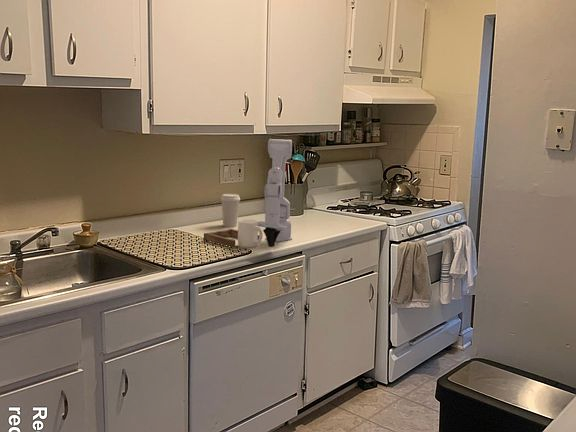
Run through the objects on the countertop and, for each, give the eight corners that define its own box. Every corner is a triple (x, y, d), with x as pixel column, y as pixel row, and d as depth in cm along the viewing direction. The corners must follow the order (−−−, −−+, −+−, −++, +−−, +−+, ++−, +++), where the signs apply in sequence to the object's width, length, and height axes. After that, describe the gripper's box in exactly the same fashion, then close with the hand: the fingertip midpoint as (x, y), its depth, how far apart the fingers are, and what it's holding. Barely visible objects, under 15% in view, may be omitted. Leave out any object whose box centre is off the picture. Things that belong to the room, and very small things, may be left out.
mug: (268, 247, 242) (269, 222, 240) (254, 250, 235) (255, 225, 233) (247, 242, 249) (247, 218, 247) (233, 245, 243) (234, 220, 241)
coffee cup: (216, 224, 284) (216, 194, 282) (233, 223, 290) (233, 193, 287) (226, 228, 277) (227, 196, 274) (243, 226, 283) (244, 195, 280)
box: (231, 235, 261) (231, 228, 261) (260, 242, 250) (260, 235, 249) (203, 240, 249) (203, 233, 249) (232, 247, 238) (232, 240, 237)
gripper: (252, 211, 234) (251, 244, 236) (279, 217, 224) (277, 251, 227) (264, 210, 239) (263, 242, 241) (291, 215, 230) (289, 248, 232)
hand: (271, 246), depth 234 cm, fingers closed
